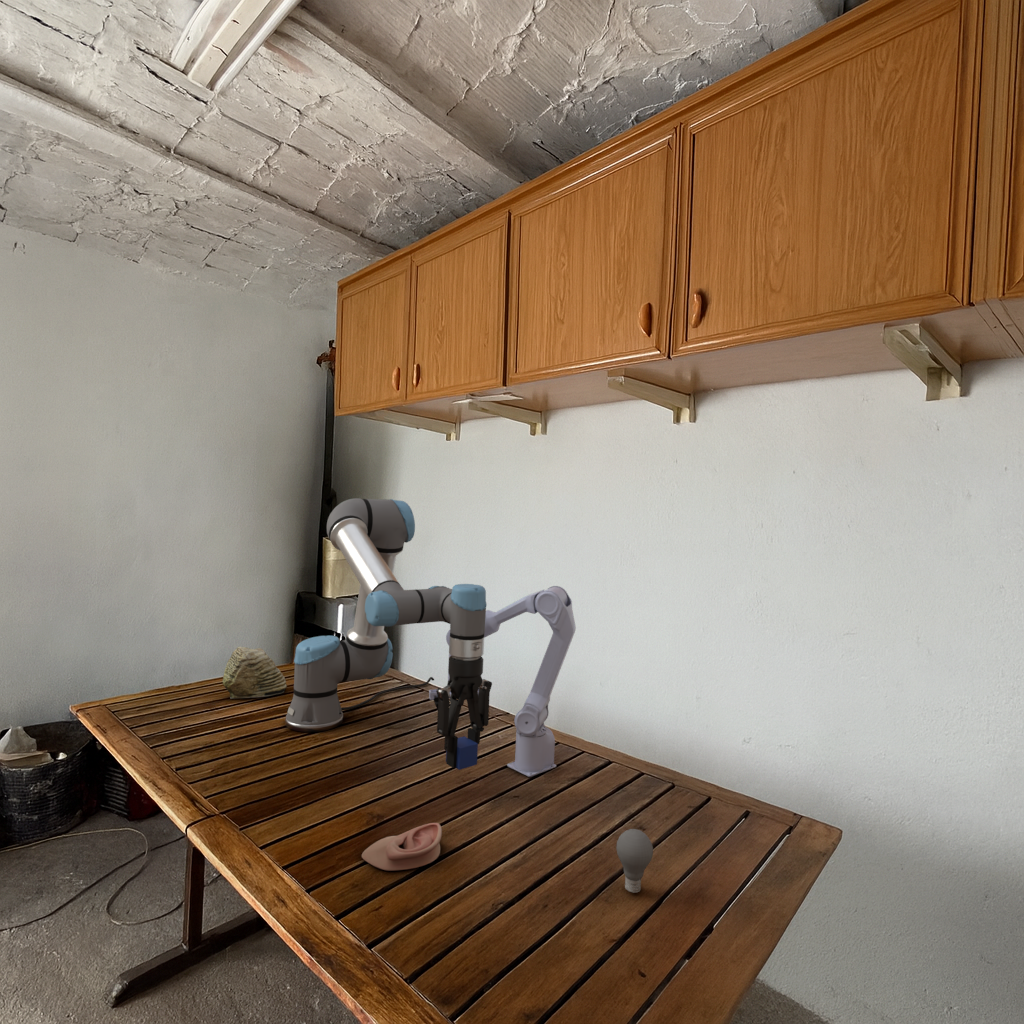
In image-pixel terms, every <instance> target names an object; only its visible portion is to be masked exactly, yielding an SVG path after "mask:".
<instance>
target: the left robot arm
mask: <svg viewBox="0 0 1024 1024" xmlns="http://www.w3.org/2000/svg"><path fill="white" fill-rule="evenodd" d="M326 521H327V522H326V534H327V537H328V539H329V542H330V543H331V545H332V546H333V548H335V549H337V550H338V551H340V552H341V554H342V555H343V557H344V559H345V561H346V562H347V564H348V566H349V567H350V569H351V571H352V572H353V574H354V576H355V577H356V580H357V581H358V583H359V588H358V597H357V601H356V609H355V615H354V622H353V627H351V628H349V629H348V630H347V632H346V637H345V639H344V640H340V638H339V637H338V636H336V635H318V636H313V637H309V638H307V639H303V640H302V641H300V642H299V643H298V644H297V645H296V647H295V654H294V659H293V663H294V672H293V673H294V674H293V675H294V676H293V695H292V696H293V697H292V699H291V702H290V704H289V706H288V709H287V713H286V715H285V726H286V728H287V729H289V730H291V731H294V732H295V731H296V732H301V733H316V732H325V731H329V730H332V729H335V728H337V727H339V726H340V725H342V723H343V722H344V713H343V711H349V710H350V711H351V710H353V709H356V708H360V707H362V706H364V705H366V704H368V703H369V702H371V701H374V699H376V698H377V697H379V696H381V695H383V694H386V693H390V692H396V691H400V690H406V689H413V688H414V689H415V688H420V687H425V686H427V685H428V684H430V682H431V681H435V678H434V677H433V676H430V677H429V678H428V679H427V680H426V681H425V682H423V683H419V684H413V685H412V684H411V685H405V686H398V687H392V688H388V689H385V690H382V691H379V692H377V693H376V694H374V695H373V696H371V697H370V698H368V699H366V700H363V701H362V702H359V703H357V704H354V705H351V706H344V707H343V706H341V702H340V699H339V695H338V684H341V683H347V682H354V681H362V680H373V679H376V678H380V677H383V676H385V675H386V674H387V672H388V671H389V670H390V668H391V665H392V662H393V656H394V653H393V644H392V641H391V640H390V638H389V636H388V633H387V632H386V631H385V627H386V628H389V627H394V626H395V627H396V626H404V625H414V624H426V623H437V622H438V623H439V622H441V623H446V624H449V630H450V642H449V645H448V655H449V654H450V655H451V656H450V657H449V656H448V664H449V667H448V666H447V667H448V668H447V673H448V672H449V676H450V678H449V681H448V680H447V684H446V685H445V686H443V687H438V688H437V691H436V692H437V696H438V711H437V720H436V721H437V722H436V733H437V734H439V735H440V736H442V737H444V745H443V746H444V747H443V748H444V751H445V752H446V751H447V758H446V757H445V764H446V765H448V766H449V767H451V768H453V769H456V768H455V767H456V763H457V742H458V738H459V737H458V736H457V735H456V731H457V726H458V723H459V718H460V714H461V711H462V710H461V709H462V707H463V706H464V705H465V704H464V703H465V701H466V702H467V710H468V714H469V715H468V716H469V721H470V722H471V725H470V728H467V738H468V739H470V740H472V741H474V742H476V743H478V745H479V744H480V742H481V733H482V732H484V730H485V727H487V726H488V725H489V719H490V718H489V717H490V696H491V695H490V694H491V690H492V686H493V682H492V681H490V680H487V679H485V678H482V675H483V673H484V658H483V655H484V654H485V653H484V652H485V638H484V633H485V616H486V611H487V599H486V598H487V592H486V591H487V590H486V588H485V587H484V586H483V585H481V584H474V583H458V584H455V585H453V586H452V588H450V587H447V586H444V585H440V586H439V585H432V586H430V587H428V588H421V589H420V588H419V589H418V588H417V589H416V588H415V589H404V588H403V587H402V585H401V584H400V582H399V581H398V579H397V577H396V576H395V574H394V571H395V566H396V560H397V556H398V555H399V554H401V553H402V552H403V551H404V546H405V543H409V542H411V541H412V540H413V539H414V536H415V533H416V532H415V531H416V521H415V516H414V512H413V510H412V508H411V506H410V505H409V504H408V503H407V502H406V501H404V500H398V499H393V498H389V499H387V498H384V499H383V498H380V499H379V498H359V497H358V498H357V497H356V498H349V499H345V500H344V501H342V502H340V503H339V504H338V505H336V506H335V507H334V508H333V509H332V511H331V512H330V513H329V516H328V517H327V520H326ZM478 689H479V697H478ZM450 692H451V697H450ZM449 697H450V698H449ZM470 722H469V723H470Z"/></svg>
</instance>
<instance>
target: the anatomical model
mask: <svg viewBox="0 0 1024 1024" xmlns="http://www.w3.org/2000/svg"><path fill="white" fill-rule="evenodd" d="M442 835H443V829H442V826H441V824H440V823H439V822H430V823H425V824H422V825H419V826H417V827H414V828H412V829H410V830H407V831H404V832H402V833H399V834H397V835H389V836H385V837H383V838H381V839H379V840H377V841H375V842H373V843H372V844H370V845H369V846H368V847H367V848H366V849H364V851H362V852H361V853H362V854H361V858H362V859H363V861H365V862H366V863H368V864H370V865H371V866H373V867H375V868H377V869H379V870H384V871H387V872H389V871H390V872H391V871H403V870H412V869H416V868H419V867H423V866H426V865H428V864H431V863H433V862H434V861H435V860H437V859H439V856H440V855H441V844H440V842H441V839H442Z"/></svg>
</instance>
